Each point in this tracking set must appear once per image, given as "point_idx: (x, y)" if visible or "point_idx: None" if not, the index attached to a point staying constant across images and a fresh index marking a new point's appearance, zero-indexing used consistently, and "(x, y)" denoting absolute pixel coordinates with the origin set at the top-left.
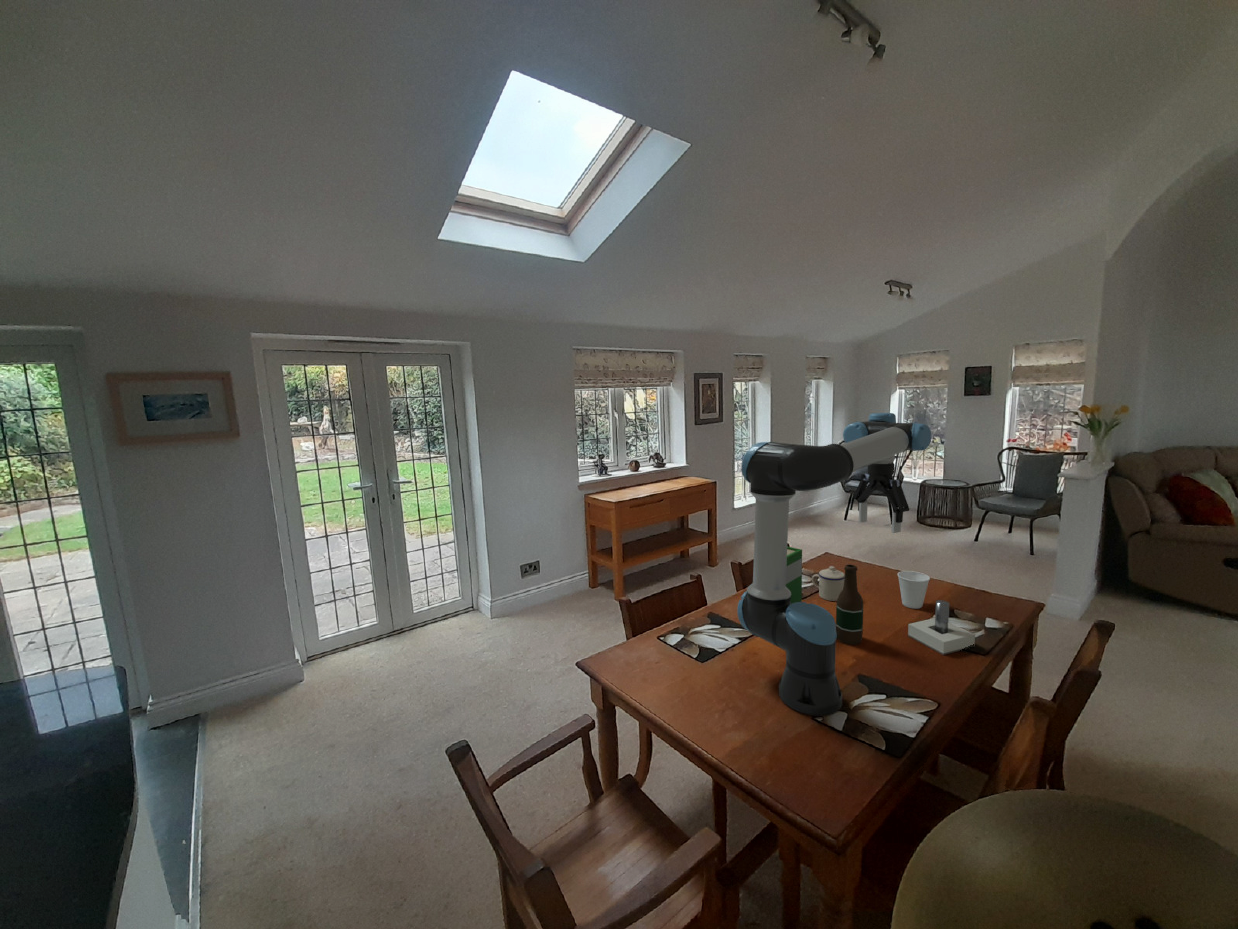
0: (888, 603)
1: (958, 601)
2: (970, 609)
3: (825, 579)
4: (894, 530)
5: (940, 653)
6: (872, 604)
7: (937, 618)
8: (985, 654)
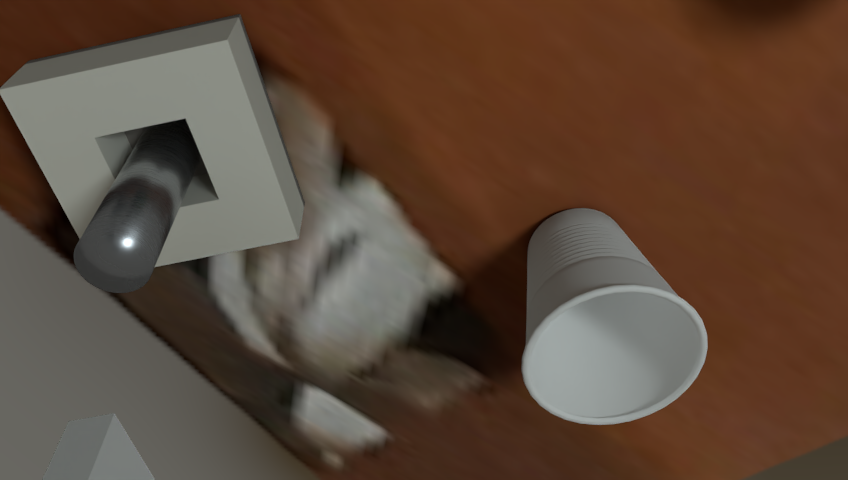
0: (636, 150)
1: (549, 432)
2: (467, 427)
3: None
4: (60, 473)
5: (43, 58)
6: (657, 56)
7: (127, 178)
8: (55, 240)
